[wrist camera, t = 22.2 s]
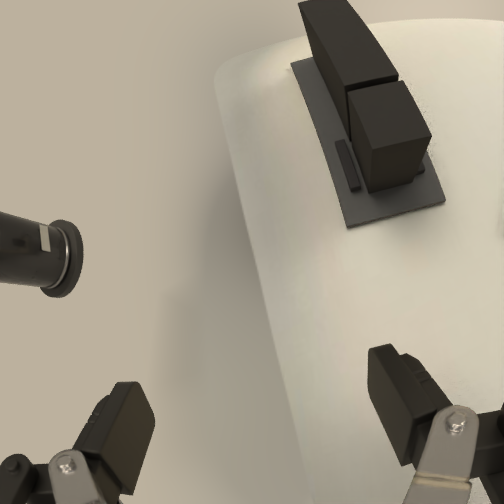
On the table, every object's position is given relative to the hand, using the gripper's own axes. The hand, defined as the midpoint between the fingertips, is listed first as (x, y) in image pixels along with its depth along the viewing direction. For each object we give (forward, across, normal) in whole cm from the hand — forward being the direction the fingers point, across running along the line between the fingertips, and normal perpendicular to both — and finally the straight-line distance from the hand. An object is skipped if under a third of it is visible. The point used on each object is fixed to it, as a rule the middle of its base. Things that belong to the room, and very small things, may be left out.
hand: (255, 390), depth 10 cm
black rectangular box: (+20, +13, +6) cm, 24 cm away
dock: (+22, +13, +10) cm, 28 cm away
